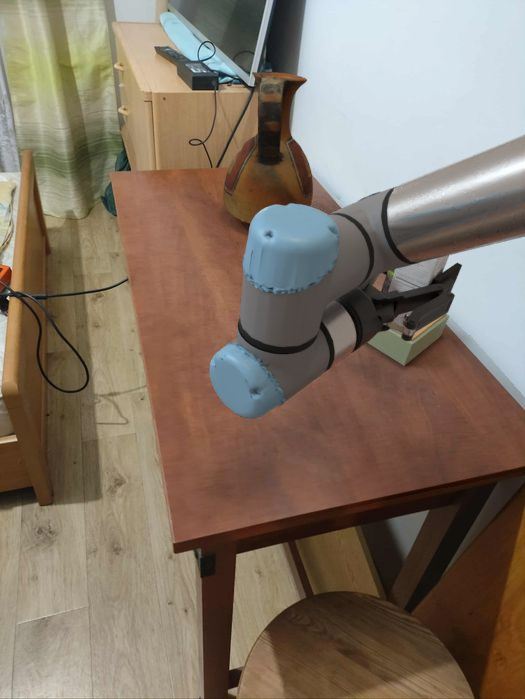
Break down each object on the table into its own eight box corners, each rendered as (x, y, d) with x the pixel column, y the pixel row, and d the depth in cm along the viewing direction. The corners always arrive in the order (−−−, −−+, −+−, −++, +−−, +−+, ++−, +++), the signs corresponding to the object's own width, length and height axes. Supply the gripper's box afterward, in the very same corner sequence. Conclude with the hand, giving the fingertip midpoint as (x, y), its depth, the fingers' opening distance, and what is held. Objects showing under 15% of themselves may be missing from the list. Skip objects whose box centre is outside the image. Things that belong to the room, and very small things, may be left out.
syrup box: (387, 304, 75) (416, 213, 66) (424, 321, 73) (460, 229, 64) (370, 321, 72) (399, 227, 62) (409, 340, 69) (445, 245, 60)
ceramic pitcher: (308, 205, 124) (332, 69, 105) (306, 246, 109) (334, 95, 89) (228, 194, 124) (237, 56, 105) (215, 233, 109) (223, 80, 89)
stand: (440, 336, 89) (450, 313, 86) (404, 366, 82) (413, 342, 79) (384, 304, 95) (391, 282, 92) (345, 329, 88) (351, 305, 85)
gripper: (265, 312, 64) (370, 255, 77) (395, 397, 54) (487, 316, 68) (272, 260, 59) (382, 209, 72) (415, 344, 49) (511, 268, 63)
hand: (433, 261), depth 70 cm, fingers closed on syrup box, 6 cm apart
